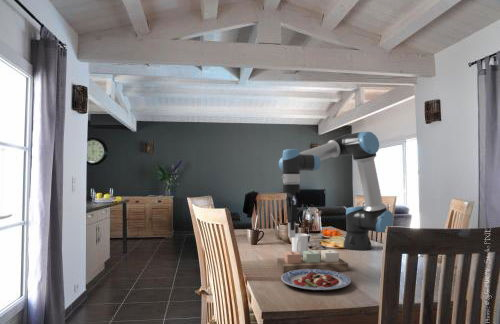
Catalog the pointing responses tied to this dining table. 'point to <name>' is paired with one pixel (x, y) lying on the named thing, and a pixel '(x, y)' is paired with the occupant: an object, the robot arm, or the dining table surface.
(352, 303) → the dining table surface
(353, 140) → the robot arm
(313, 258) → the tile two
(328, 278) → the ceramic plate
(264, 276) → the dining table surface
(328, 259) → the tile one
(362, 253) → the dining table surface
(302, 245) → the cup
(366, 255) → the dining table surface
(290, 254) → the tile three
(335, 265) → the button board
